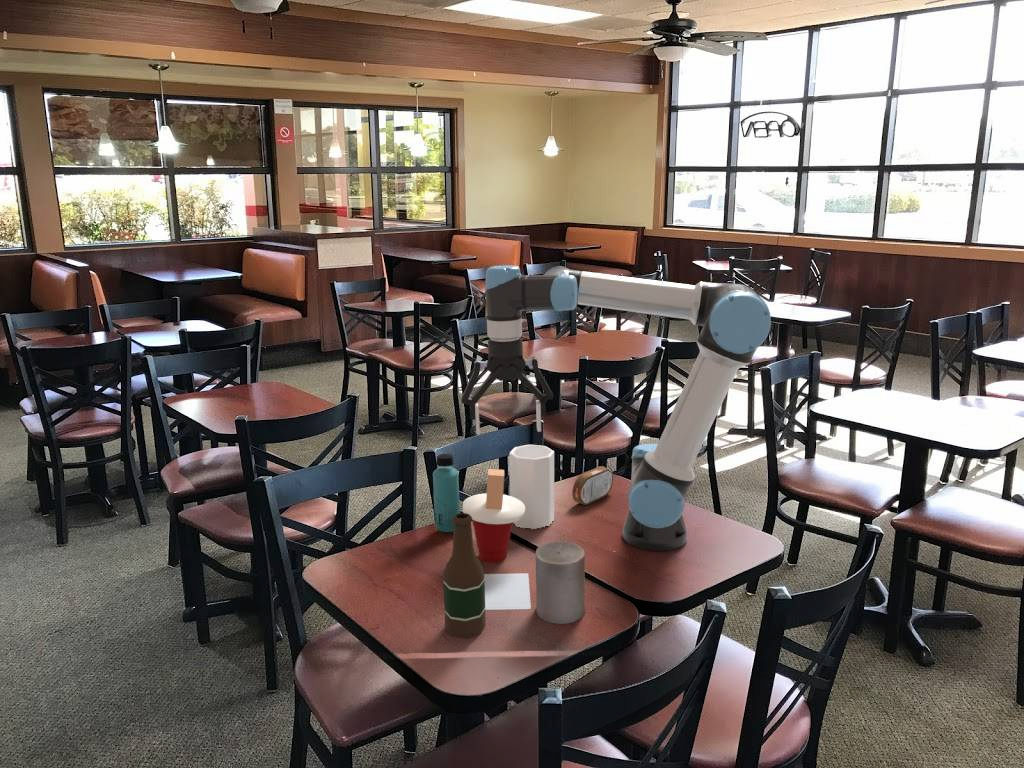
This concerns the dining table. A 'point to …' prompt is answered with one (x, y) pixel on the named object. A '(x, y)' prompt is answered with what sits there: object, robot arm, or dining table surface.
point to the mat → (507, 591)
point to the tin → (592, 485)
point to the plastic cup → (492, 540)
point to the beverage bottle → (445, 493)
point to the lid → (494, 503)
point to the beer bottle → (464, 584)
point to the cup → (533, 484)
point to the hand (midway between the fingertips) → (508, 431)
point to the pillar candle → (560, 582)
